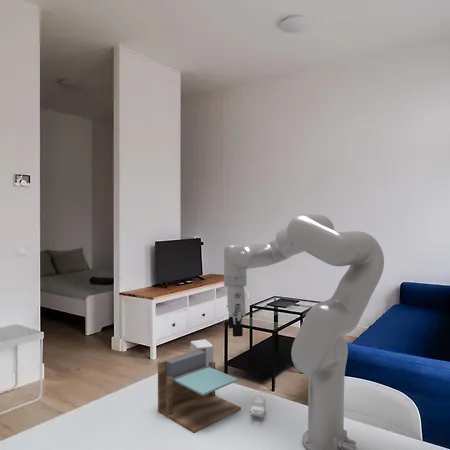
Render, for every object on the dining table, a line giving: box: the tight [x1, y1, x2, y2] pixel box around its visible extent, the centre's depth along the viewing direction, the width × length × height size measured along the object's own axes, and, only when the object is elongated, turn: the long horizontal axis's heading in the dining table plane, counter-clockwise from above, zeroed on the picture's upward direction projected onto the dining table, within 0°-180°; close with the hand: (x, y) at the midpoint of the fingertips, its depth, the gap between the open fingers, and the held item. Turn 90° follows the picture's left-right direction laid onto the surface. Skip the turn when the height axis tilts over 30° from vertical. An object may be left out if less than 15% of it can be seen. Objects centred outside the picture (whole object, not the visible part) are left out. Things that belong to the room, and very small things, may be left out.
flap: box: [166, 350, 239, 395], centre depth 129 cm, size 18×16×6 cm
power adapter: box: [249, 395, 266, 419], centre depth 125 cm, size 10×4×5 cm, turn 165°
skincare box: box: [189, 338, 214, 366], centre depth 150 cm, size 8×7×16 cm
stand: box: [157, 348, 242, 434], centre depth 130 cm, size 18×20×16 cm
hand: (235, 331), depth 135 cm, fingers open, 9 cm apart
